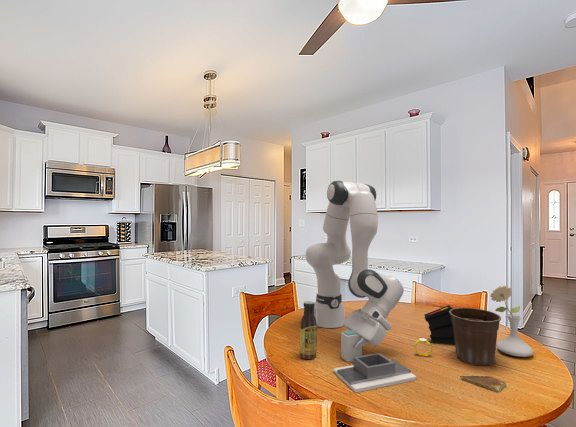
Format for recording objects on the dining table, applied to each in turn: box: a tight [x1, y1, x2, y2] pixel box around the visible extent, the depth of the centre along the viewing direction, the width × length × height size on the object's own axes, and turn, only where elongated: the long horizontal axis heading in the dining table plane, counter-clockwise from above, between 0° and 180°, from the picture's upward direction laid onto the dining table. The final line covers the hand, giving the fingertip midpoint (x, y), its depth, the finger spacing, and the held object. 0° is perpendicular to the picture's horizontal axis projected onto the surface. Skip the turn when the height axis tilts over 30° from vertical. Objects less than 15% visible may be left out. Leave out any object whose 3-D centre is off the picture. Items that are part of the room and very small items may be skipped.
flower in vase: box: [490, 285, 534, 358], centre depth 123 cm, size 13×11×25 cm
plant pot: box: [449, 307, 502, 367], centre depth 118 cm, size 16×16×16 cm
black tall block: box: [424, 304, 455, 346], centre depth 133 cm, size 4×13×15 cm, turn 74°
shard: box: [459, 375, 507, 393], centre depth 101 cm, size 11×8×2 cm
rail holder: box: [332, 352, 418, 394], centre depth 106 cm, size 14×22×5 cm, turn 109°
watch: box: [414, 337, 433, 357], centre depth 121 cm, size 6×3×6 cm, turn 73°
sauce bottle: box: [299, 300, 318, 360], centre depth 121 cm, size 6×6×20 cm
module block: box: [340, 330, 363, 363], centre depth 119 cm, size 4×6×10 cm
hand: (349, 345), depth 119 cm, fingers open, 6 cm apart
